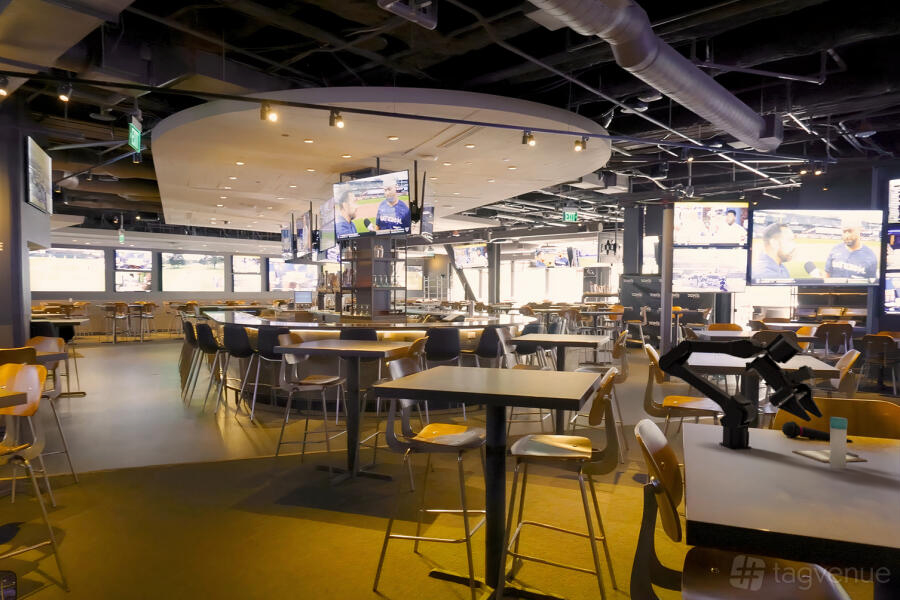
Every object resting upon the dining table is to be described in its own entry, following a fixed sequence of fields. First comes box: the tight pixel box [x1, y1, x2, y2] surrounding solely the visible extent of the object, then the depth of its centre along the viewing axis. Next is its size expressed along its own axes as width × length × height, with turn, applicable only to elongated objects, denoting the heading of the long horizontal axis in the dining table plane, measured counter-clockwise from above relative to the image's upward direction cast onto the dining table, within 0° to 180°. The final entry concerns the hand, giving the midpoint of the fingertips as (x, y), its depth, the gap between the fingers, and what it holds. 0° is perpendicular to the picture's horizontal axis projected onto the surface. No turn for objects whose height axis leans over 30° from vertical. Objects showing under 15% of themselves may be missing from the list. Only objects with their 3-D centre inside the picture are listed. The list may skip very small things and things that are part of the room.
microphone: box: [781, 420, 854, 443], centre depth 184 cm, size 6×6×20 cm
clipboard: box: [791, 449, 868, 464], centre depth 162 cm, size 14×11×1 cm
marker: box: [829, 416, 848, 470], centre depth 151 cm, size 4×4×13 cm
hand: (815, 418), depth 155 cm, fingers open, 9 cm apart
